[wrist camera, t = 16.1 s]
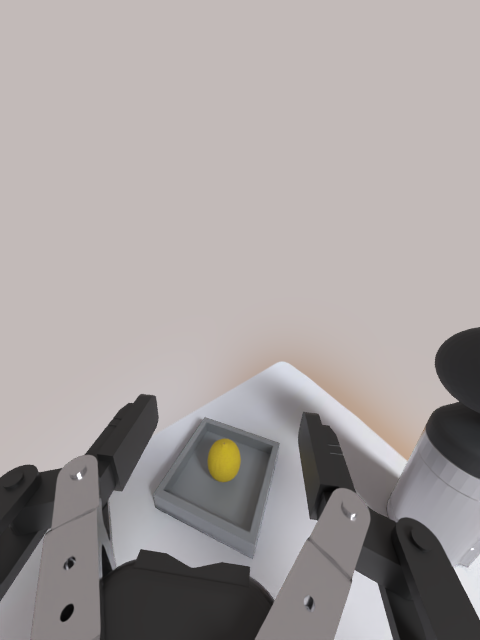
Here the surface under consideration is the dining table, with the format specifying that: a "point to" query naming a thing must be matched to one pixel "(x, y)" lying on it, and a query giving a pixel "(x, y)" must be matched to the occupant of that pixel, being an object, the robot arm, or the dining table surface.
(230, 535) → the tray
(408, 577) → the robot arm
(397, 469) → the dining table surface
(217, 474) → the lemon
